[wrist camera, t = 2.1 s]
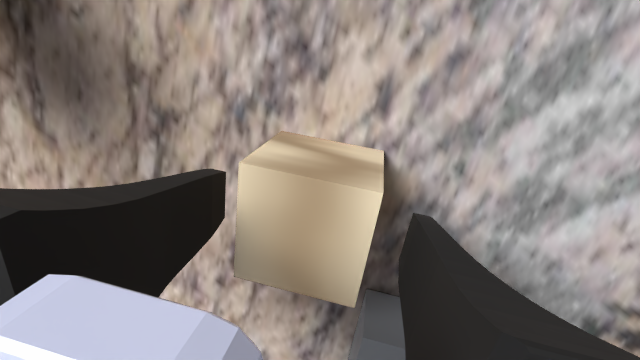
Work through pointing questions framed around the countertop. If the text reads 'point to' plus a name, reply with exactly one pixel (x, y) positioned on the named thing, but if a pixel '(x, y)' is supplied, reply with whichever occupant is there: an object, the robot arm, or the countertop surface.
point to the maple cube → (308, 215)
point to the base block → (379, 329)
